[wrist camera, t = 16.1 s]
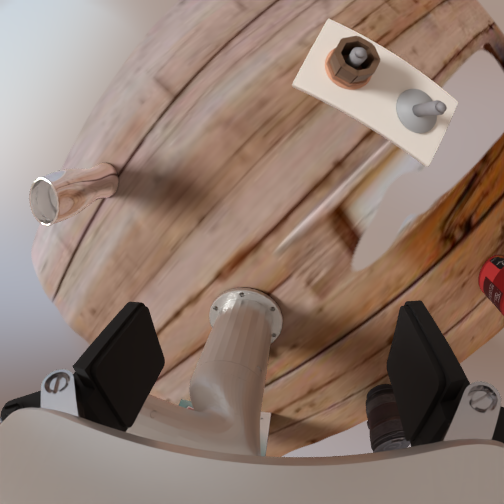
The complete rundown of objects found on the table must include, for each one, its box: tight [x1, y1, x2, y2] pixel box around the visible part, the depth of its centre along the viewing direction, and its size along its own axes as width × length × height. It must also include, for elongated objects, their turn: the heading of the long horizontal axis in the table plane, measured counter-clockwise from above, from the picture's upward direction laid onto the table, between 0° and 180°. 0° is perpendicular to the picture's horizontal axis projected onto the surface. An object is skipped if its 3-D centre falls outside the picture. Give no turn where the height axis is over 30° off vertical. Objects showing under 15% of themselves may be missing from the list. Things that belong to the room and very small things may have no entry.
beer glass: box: [29, 163, 119, 226], centre depth 36 cm, size 7×7×15 cm
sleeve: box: [326, 36, 380, 87], centre depth 27 cm, size 6×6×6 cm
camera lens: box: [366, 384, 410, 453], centre depth 46 cm, size 8×8×15 cm
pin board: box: [292, 19, 458, 167], centre depth 27 cm, size 22×12×10 cm, turn 65°
